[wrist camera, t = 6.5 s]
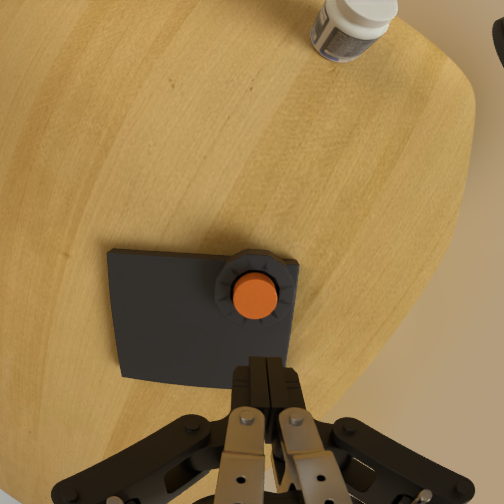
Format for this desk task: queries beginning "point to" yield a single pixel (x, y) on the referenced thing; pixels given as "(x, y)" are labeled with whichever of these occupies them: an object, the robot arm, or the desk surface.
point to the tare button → (255, 295)
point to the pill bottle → (350, 27)
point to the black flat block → (194, 314)
